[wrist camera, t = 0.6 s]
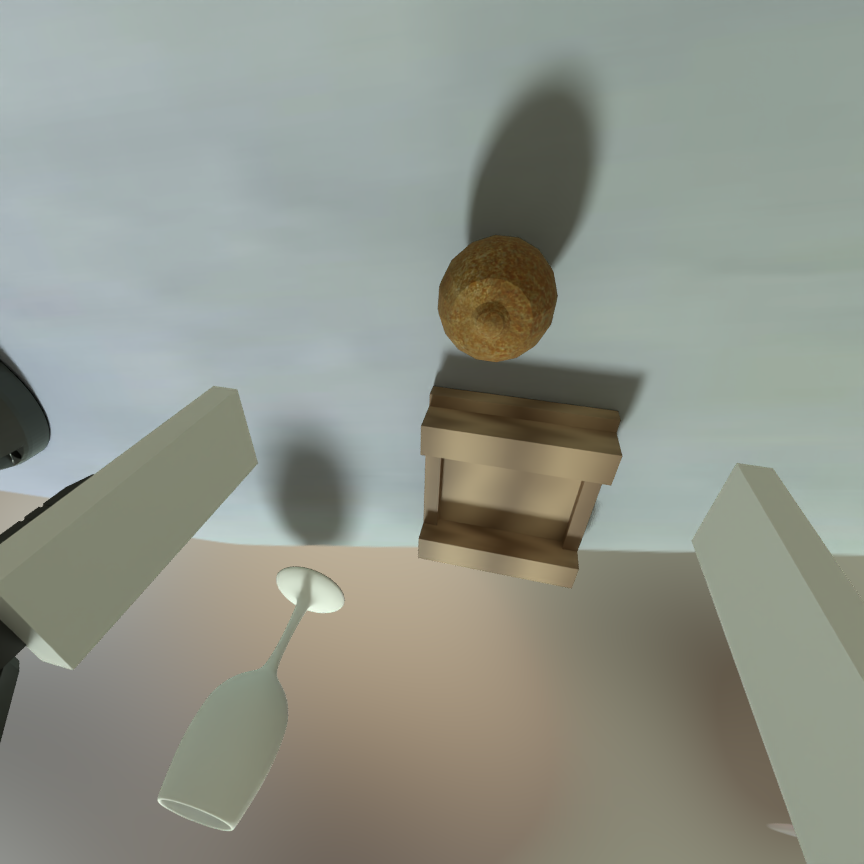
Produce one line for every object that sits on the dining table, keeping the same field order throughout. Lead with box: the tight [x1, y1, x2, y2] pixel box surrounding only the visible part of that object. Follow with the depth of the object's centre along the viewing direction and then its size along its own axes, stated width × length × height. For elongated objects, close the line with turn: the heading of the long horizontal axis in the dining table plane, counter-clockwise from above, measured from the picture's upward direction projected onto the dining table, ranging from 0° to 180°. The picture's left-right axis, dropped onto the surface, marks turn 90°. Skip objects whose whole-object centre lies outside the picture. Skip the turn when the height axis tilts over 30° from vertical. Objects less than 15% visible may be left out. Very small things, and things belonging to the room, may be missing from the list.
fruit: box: [438, 235, 558, 362], centre depth 22 cm, size 6×6×8 cm
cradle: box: [418, 386, 622, 588], centre depth 33 cm, size 13×16×4 cm
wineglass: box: [158, 567, 345, 831], centre depth 42 cm, size 9×9×21 cm
